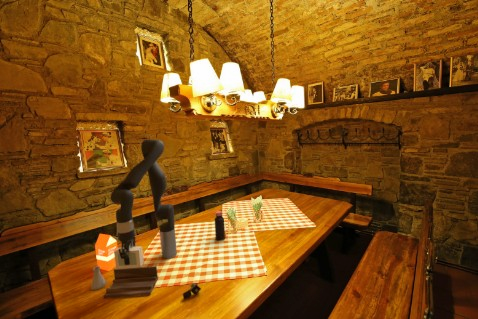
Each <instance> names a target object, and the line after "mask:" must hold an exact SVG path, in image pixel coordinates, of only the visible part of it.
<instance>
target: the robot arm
mask: <svg viewBox="0 0 478 319" xmlns="http://www.w3.org/2000/svg"><path fill="white" fill-rule="evenodd" d="M140 147H141V149H140V150H141V155H142V158H143V159H142V160H141V161H140V162H138V163H137V164H136V165H134V166H133V167H132V168H131V169H130V170H129V172H128V173H127V175H126V176H125V177H124V179H123V180H122V181H121V182H120V183H119V184H118V185H116V186H115V188H114V189H113V190H112V192H111V194H110V200H111V202H112V203H113V204H117V205H120V207H119V208H118V209H117V210H116V211H115V218H116V219H115V220H116V232H117V240H118V241H119V242H121V245H120V248H121V249H119V254H120V257H121V259H124V263H125V265H129V264H130V261H129V252H130V248H131V247H136V233H135V232H136V231H135V224H134V223H135V222H134V219H133V213H132V212H133V206H134V202H135V198H134V197H135V196H134V194H133V192H132V191H131V190H133V189H137V187H138V186H139V184H140V183H141V182H142V180H143V179H144V177H145V175H146V173H147V174H148V181H149V185H150V190H151V195H152V201H153V209H154V217H155V219H156V220H159V221H161V220H163V221H164V220H167V221H166V222H163V223H161V224H160V225H159V227H158V228H159V236H160V237H159V238H160V249H161V258H162V259H166V260H167V259H172V258H174V257H176V256H177V254H178V250H177V241H176V240H177V239H176V238H177V237H176V228H175V208H174V205H173V204H169V203H167V204H162V203H161V202H162V201H161V199H162V197H163V195H164V192H165V191H166V189H167V187H168V186H167V185H168V184H167V178H166V174H165V172H164V171H163V169H162V168H161V166H160V165H159V164H158V162H157V161H158V159H160V157H161V156H162V154H164V150H165V144H164V142H163V141H162V140H160V139H144V140H142V142H141V146H140ZM125 250H128V251H125ZM126 253H127V254H126Z"/></svg>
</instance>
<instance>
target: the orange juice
mask: <svg viewBox="0 0 478 319" xmlns="http://www.w3.org/2000/svg"><path fill="white" fill-rule="evenodd" d="M94 248H95V256H96V262H97V266H100V270H103V271H107V272H108V271H109V272H110V271H111V270H114V269H115V268H116V264H115V256H114V251H115V250H116V249H117V248H119V247H118V241H117V240H116V239H115V238H114V237H113V236H112V235H110V234H103V233H99V235H98V238H97V240H96V243H95V245H94Z"/></svg>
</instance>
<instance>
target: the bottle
mask: <svg viewBox="0 0 478 319" xmlns="http://www.w3.org/2000/svg"><path fill="white" fill-rule="evenodd" d="M214 215H215V217H214V229H215V230H214V231H215V232H214V233H215V240H216V241H224V240H225V239H226V231H225V217H223V211H222V210H217V211H215V214H214Z"/></svg>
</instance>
